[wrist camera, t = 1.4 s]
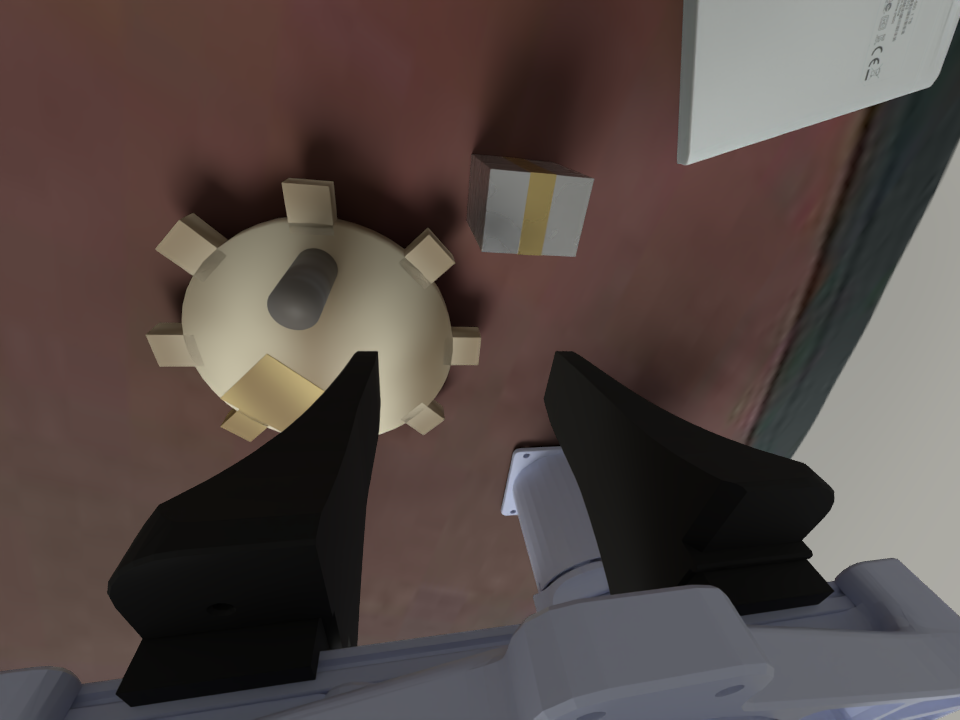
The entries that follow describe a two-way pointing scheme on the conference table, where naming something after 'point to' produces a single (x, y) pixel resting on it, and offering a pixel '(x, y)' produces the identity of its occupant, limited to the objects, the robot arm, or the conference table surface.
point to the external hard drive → (799, 64)
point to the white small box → (526, 205)
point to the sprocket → (311, 314)
